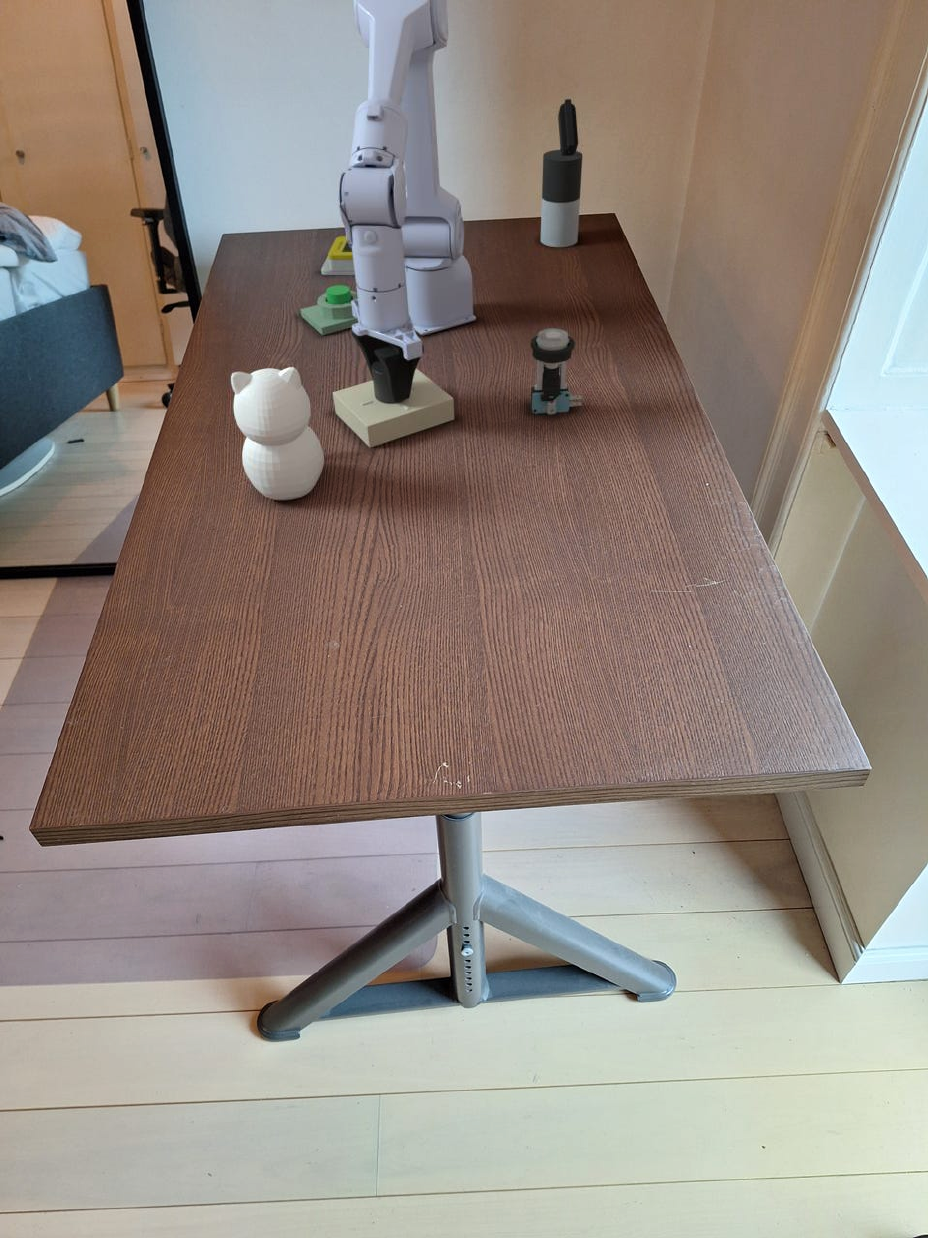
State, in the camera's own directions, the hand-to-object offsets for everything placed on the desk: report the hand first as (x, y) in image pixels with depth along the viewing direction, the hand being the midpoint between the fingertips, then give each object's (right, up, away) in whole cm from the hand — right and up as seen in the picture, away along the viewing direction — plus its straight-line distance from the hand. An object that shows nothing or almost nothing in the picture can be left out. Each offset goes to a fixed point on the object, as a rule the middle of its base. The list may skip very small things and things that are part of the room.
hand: (391, 390), depth 106 cm
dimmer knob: (0, 0, 0) cm, 1 cm away
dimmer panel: (0, -3, +3) cm, 4 cm away
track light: (+26, +37, +44) cm, 63 cm away
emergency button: (-7, +32, +40) cm, 52 cm away
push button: (+21, -2, +3) cm, 21 cm away
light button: (-10, +20, +23) cm, 32 cm away
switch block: (-10, +18, +25) cm, 32 cm away
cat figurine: (-11, -13, -7) cm, 18 cm away
